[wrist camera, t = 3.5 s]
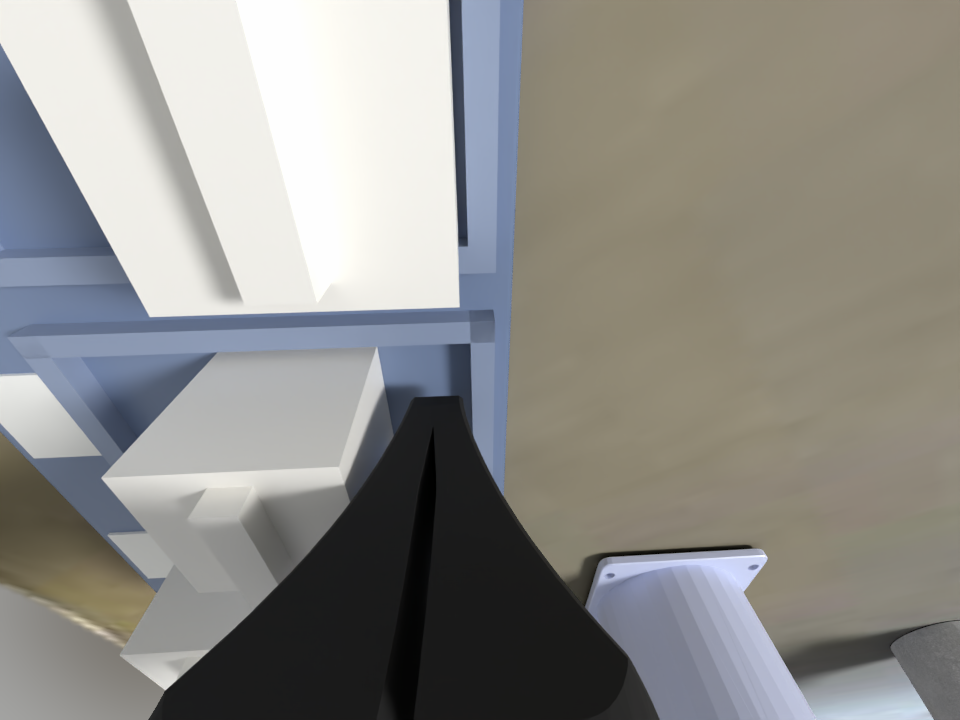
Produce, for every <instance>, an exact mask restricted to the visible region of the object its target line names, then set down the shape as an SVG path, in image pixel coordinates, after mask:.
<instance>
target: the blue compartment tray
mask: <svg viewBox="0 0 960 720" xmlns="http://www.w3.org/2000/svg"><path fill="white" fill-rule="evenodd" d="M449 16H450V41H451V66H452V91H453V116H454V141H455V167H456V192H457V217H458V256H459V303H460V307H456V308H424V309H393V310H361V311H329V312H297V313H266V314H234V315H202V316H171V317H149V315H148V313H147V311H146V309H145V307H144V306H143V304H142V302H141V300H140V298H139V296H138V295H137V293H136V291H135V289H134V287H133V285H132V284H131V282H130V280H129V278H128V276H127V274H126V273H125V271H124V269H123V267H122V265H121V263H120V262H119V260H118V258H117V256H116V254H115V252H114V251H113V249H112V247H111V245H110V243H109V241H108V240H107V238H106V236H105V234H104V232H103V230H102V229H101V227H100V225H99V223H98V221H97V219H96V218H95V216H94V214H93V212H92V210H91V209H90V207H89V205H88V203H87V201H86V199H85V198H84V196H83V194H82V192H81V190H80V188H79V187H78V185H77V183H76V181H75V179H74V177H73V176H72V174H71V172H70V170H69V168H68V166H67V165H66V163H65V161H64V159H63V157H62V155H61V154H60V152H59V150H58V148H57V146H56V144H55V143H54V141H53V139H52V137H51V135H50V133H49V132H48V130H47V128H46V126H45V124H44V122H43V121H42V119H41V117H40V115H39V113H38V111H37V110H36V108H35V106H34V104H33V102H32V100H31V99H30V97H29V95H28V93H27V91H26V90H25V88H24V86H23V84H22V82H21V80H20V79H19V77H18V75H17V73H16V71H15V69H14V68H13V66H12V64H11V62H10V60H9V58H8V57H7V55H6V53H5V51H4V49H3V47H2V46H1V44H0V432H1V433H2V434H3V435H4V436H5V437H6V438H7V439H8V440H9V441H10V442H11V443H12V444H13V445H14V446H15V447H16V448H17V449H18V450H19V451H20V452H21V453H22V454H23V455H24V456H25V457H26V458H27V459H28V461H29V462H30V463H31V464H32V465H33V466H34V467H35V468H36V469H37V470H38V471H39V472H40V473H41V474H42V475H43V476H44V477H45V478H46V479H47V480H48V481H49V482H50V483H51V484H52V485H53V486H54V487H55V488H56V489H57V490H58V491H59V493H60V494H61V495H62V496H63V497H64V498H65V499H66V500H67V501H68V502H69V503H70V504H71V505H72V506H73V507H74V508H75V509H76V510H77V511H78V512H79V513H80V514H81V515H82V516H83V517H84V518H85V519H86V520H87V521H88V522H89V523H90V524H91V526H92V527H93V528H94V529H95V530H96V531H97V532H98V533H99V534H100V535H101V536H102V537H103V538H104V539H105V540H106V541H107V542H108V543H109V544H110V545H111V546H112V547H113V548H114V549H115V550H116V551H117V552H118V553H119V554H120V555H121V556H122V558H123V559H124V560H125V561H126V562H127V563H128V564H129V565H130V566H131V567H132V568H133V569H134V570H135V571H136V572H137V573H138V574H139V575H140V576H141V577H142V578H143V579H144V580H145V581H146V582H147V583H148V584H149V585H150V586H151V587H152V588H153V589H154V591H155V592H156V593H157V592H158V590H159V589H160V587H161V585H162V584H163V582H164V580H165V579H166V577H167V575H168V574H169V572H170V570H171V569H172V567H173V565H174V564H173V562H172V561H171V560H170V559H169V558H168V556H167V555H166V554H165V553H164V552H163V551H162V549H161V548H160V547H159V546H158V545H157V543H156V542H155V541H154V540H153V539H152V538H151V536H150V535H149V534H148V533H147V532H146V531H145V529H144V528H143V527H142V526H141V525H140V523H139V522H138V521H137V520H136V519H135V518H134V516H133V515H132V514H131V513H130V512H129V510H128V509H127V508H126V507H125V506H124V505H123V503H122V502H121V501H120V500H119V499H118V497H117V496H116V495H115V494H114V493H113V492H112V490H111V489H110V488H109V487H108V486H107V484H106V483H105V482H104V481H103V480H102V479H101V478H102V476H103V475H104V474H105V473H106V472H107V471H108V470H109V469H110V468H111V467H112V466H113V465H114V464H115V462H116V461H117V460H118V459H119V458H120V457H121V456H122V455H123V454H124V453H125V452H126V451H127V450H128V448H129V447H130V446H131V445H132V444H133V443H134V442H135V441H136V440H137V439H138V438H139V437H140V436H141V434H142V433H143V432H144V431H145V430H146V429H147V428H148V427H149V426H150V425H151V424H152V423H153V422H154V420H155V419H156V418H157V417H158V416H159V415H160V414H161V413H162V412H163V411H164V410H165V409H166V408H167V406H168V405H169V404H170V403H171V402H172V401H173V400H174V399H175V398H176V397H177V396H178V395H179V394H180V392H181V391H182V390H183V389H184V388H185V387H186V386H187V385H188V384H189V383H190V382H191V381H192V380H193V378H194V377H195V376H196V375H197V374H198V373H199V372H200V371H201V370H202V369H203V368H204V367H205V366H206V364H207V363H208V362H209V361H210V360H211V359H212V358H213V357H214V356H215V355H216V354H217V353H218V352H241V351H270V350H298V349H327V348H355V347H377V348H378V354H379V359H380V364H381V370H382V375H383V381H384V386H385V391H386V397H387V402H388V407H389V413H390V418H391V424H392V429H393V434H394V435H395V433H396V431H397V429H398V427H399V425H400V423H401V421H402V420H403V418H404V415H405V413H406V411H407V409H408V407H409V404H410V402H411V400H412V399H413V398H414V397H431V396H457V395H459V396H460V397H461V398H463V403H464V409H465V413H466V416H467V420H468V423H469V426H470V428H471V431H472V434H473V436H474V439H475V441H476V444H477V446H478V448H479V450H480V452H481V455H482V457H483V459H484V461H485V463H486V465H487V467H488V469H489V471H490V473H491V475H492V477H493V479H494V480H495V482H496V484H497V486H498V488H499V490H500V491H501V493H502V495H503V496H504V471H505V447H506V422H507V397H508V372H509V347H510V323H511V298H512V273H513V248H514V223H515V199H516V174H517V149H518V124H519V99H520V74H521V50H522V25H523V0H449Z"/></svg>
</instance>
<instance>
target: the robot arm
mask: <svg viewBox="0 0 960 720" xmlns="http://www.w3.org/2000/svg"><path fill="white" fill-rule="evenodd" d="M767 559H768V558H767V556H766V554H765V553H764V551H763V550H761V549H756V548H755V549H738V550H721V551H703V552H686V553H669V554H651V555H634V556H616V557H606V558H604V559H602V560H601V561H600V562H599V564H598V567H597V570H596V573H595V577H594V580H593V583H592V587H591V590H590V593H589V596H588V600H587V603H586V606H585V607H584V606H583V604H582V603H581V602H580V601H579V600H578V598H577V597H576V596H575V595H574V594H573V592H572V591H571V590H570V589H569V588H568V586H567V585H566V584H565V583H564V582H563V580H562V579H561V578H560V577H559V575H558V574H557V573H556V571H555V570H554V569H553V567H552V566H551V565H550V563H549V562H548V561H547V559H546V558H545V557H544V555H543V554H542V553H541V552H540V550H539V549H538V548H537V546H536V545H535V544H534V542H533V541H532V539H531V538H530V537H529V535H528V534H527V532H526V531H525V529H524V528H523V526H522V525H521V523H520V522H519V520H518V519H517V517H516V516H515V514H514V513H513V511H512V509H511V508H510V506H509V505H508V503H507V501H506V500H505V498H504V496H503V495H502V493H501V491H500V490H499V488H498V486H497V484H496V482H495V480H494V479H493V477H492V475H491V473H490V471H489V469H488V467H487V465H486V463H485V461H484V459H483V457H482V455H481V452H480V450H479V448H478V446H477V444H476V441H475V439H474V436H473V434H472V431H471V428H470V426H469V423H468V420H467V416H466V413H465V409H464V403H463V398H461V397H460V396H459V395H457V396H431V397H414V398H413V399H412V400H411V402H410V404H409V407H408V409H407V411H406V413H405V415H404V418H403V420H402V421H401V423H400V425H399V427H398V429H397V431H396V433H395V435H394V436H393V438H392V440H391V442H390V443H389V445H388V447H387V448H386V450H385V452H384V453H383V455H382V457H381V458H380V460H379V462H378V463H377V465H376V466H375V468H374V469H373V471H372V472H371V473H370V475H369V476H368V478H367V479H366V481H365V482H364V484H363V485H362V487H361V488H360V490H359V491H358V492H357V494H356V495H355V497H354V498H353V499H352V501H351V502H350V503H349V505H348V506H347V507H346V509H345V510H344V511H343V512H342V514H341V515H340V516H339V517H338V519H337V520H336V521H335V522H334V524H333V525H332V526H331V527H330V529H329V530H328V531H327V532H326V533H325V534H324V536H323V537H322V538H321V539H320V540H319V541H318V542H317V544H316V545H315V546H314V547H313V548H312V549H311V551H310V552H309V553H308V554H307V555H306V556H305V557H304V558H303V559H302V561H301V562H300V563H299V564H298V565H297V566H296V567H295V568H294V569H293V570H292V571H291V572H290V574H289V575H288V576H287V577H286V578H285V579H284V580H283V581H282V582H281V583H280V584H279V585H278V586H277V587H276V588H275V589H274V590H273V591H272V592H271V593H270V594H269V595H268V596H267V597H266V598H265V599H264V600H263V601H262V602H261V603H260V604H259V605H258V606H257V607H256V608H255V609H254V610H253V611H252V612H251V613H250V614H249V615H248V616H247V617H246V618H245V619H244V620H243V621H242V622H240V623H239V624H238V625H237V626H236V627H235V628H234V629H233V630H232V631H231V632H230V633H229V634H228V635H226V636H225V637H224V638H223V639H222V640H221V641H220V642H219V643H218V644H216V645H215V646H214V647H213V648H212V649H211V650H210V651H209V652H208V653H206V654H205V655H204V656H203V657H202V658H201V659H200V660H199V661H198V662H197V663H195V664H194V665H193V666H192V667H191V668H190V669H189V670H188V671H187V672H185V673H184V674H183V675H182V676H181V677H180V678H179V679H178V680H176V681H175V682H174V683H173V684H172V685H171V686H170V687H169V688H168V689H166V690H165V692H164V694H163V696H162V698H161V699H160V701H159V703H158V705H157V707H156V708H155V710H154V711H153V713H152V715H151V716H150V718H149V720H817V718H816V717H815V715H814V713H813V711H812V710H811V708H810V706H809V705H808V703H807V701H806V699H805V698H804V696H803V694H802V693H801V691H800V689H799V687H798V686H797V684H796V682H795V680H794V679H793V677H792V675H791V674H790V672H789V670H788V668H787V667H786V665H785V663H784V662H783V660H782V658H781V656H780V655H779V653H778V651H777V650H776V648H775V646H774V644H773V643H772V641H771V639H770V637H769V636H768V634H767V632H766V631H765V629H764V627H763V625H762V624H761V622H760V620H759V619H758V617H757V615H756V613H755V612H754V610H753V608H752V607H751V605H750V603H749V601H748V600H747V598H746V596H745V594H744V593H743V592H744V590H745V589H746V588H747V586H748V585H749V584H750V582H751V581H752V580H753V579H754V577H755V576H756V575H757V573H758V572H759V571H760V569H761V568H762V567H763V565H764V564H765V563H766V561H767Z"/></svg>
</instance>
